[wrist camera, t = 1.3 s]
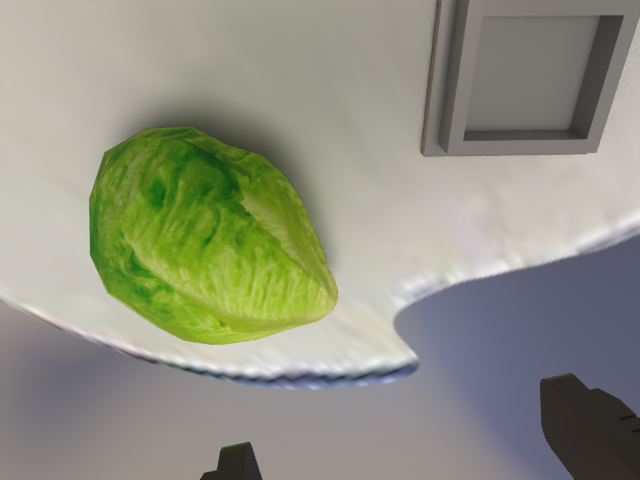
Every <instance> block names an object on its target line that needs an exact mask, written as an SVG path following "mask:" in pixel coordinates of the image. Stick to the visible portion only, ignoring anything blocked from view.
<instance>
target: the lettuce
mask: <svg viewBox="0 0 640 480" xmlns="http://www.w3.org/2000/svg"><path fill="white" fill-rule="evenodd" d="M89 215H90V256H91V258H92V260H93V262H94V265H95V267H96V269H97V271H98V273H99V276H100V278H101V280H102V282H103V285H104V287H105V289H106V291H107V293H108V294H109V295H111V296H112V297H113V298H115V299H116V300H118V301H119V302H121V303H122V304H123V305H125V306H126V307H128V308H129V309H131V310H132V311H134V312H135V313H137V314H138V315H140V316H141V317H143V318H144V319H146V320H147V321H149V322H151V323H152V324H154V325H155V326H157V327H158V328H160V329H162V330H164V331H166V332H168V333H170V334H172V335H174V336H176V337H178V338H180V339H182V340H184V341H190V342H197V343H203V344H210V345H224V344H231V343H238V342H245V341H252V340H257V339H260V338H263V337H267V336H270V335H273V334H276V333H279V332H283V331H286V330H289V329H292V328H296V327H299V326H302V325H306V324H309V323H313V322H316V321H318V320H320V319H322V318H323V317H325V316H326V315H328V314H329V313H330V312H331V311H332V310H333V309H334V307H335V306H336V303H337V300H338V289H337V285H336V282H335V280H334V278H333V275H332V273H331V271H330V269H329V267H328V265H327V262H326V258H325V254H324V251H323V248H322V246H321V243H320V241H319V239H318V236H317V234H316V232H315V230H314V227H313V225H312V223H311V221H310V218H309V216H308V214H307V212H306V209H305V207H304V205H303V202H302V200H301V198H300V196H299V195H298V193H297V192H296V191H295V189H294V188H293V187H292V185H291V184H290V182H289V181H288V180H287V178H286V177H285V176H284V174H283V173H282V172H280V171H279V170H278V169H277V168H276V167H274V166H273V165H272V164H271V163H270V162H269V161H268V160H267V159H266V158H265V157H263V156H261V155H260V154H257V153H253V152H250V151H247V150H243V149H240V148H236V147H233V146H230V145H226V144H224V143H222V142H221V141H219V140H217V139H215V138H213V137H211V136H209V135H207V134H205V133H203V132H201V131H199V130H197V129H196V128H194V127H166V128H147V129H145V130H143V131H141V132H140V133H138V134H136V135H134V136H133V137H131V138H129V139H127V140H126V141H124V142H122V143H120V144H119V145H117V146H115V147H113V148H112V149H110V150H108V151H106V152H105V153H104V156H103V159H102V162H101V165H100V168H99V171H98V174H97V177H96V180H95V183H94V186H93V189H92V192H91V195H90V198H89Z"/></svg>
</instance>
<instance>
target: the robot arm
mask: <svg viewBox="0 0 640 480" xmlns="http://www.w3.org/2000/svg"><path fill="white" fill-rule="evenodd" d="M540 398H541V399H540V400H541V423H542V429H543V433H544V435H545V438H546V440H547V442H548V444H549V446H550V447H551V449H552V450H553V452H554V453H555V454H556V455H557V457H558V458H559V460H560V461H561V462H562V463H563V465H564V466H565V467H566V469H567V470H568V472H569V473H570V474H571V476H572V477H573V478H574V480H640V418H637V416H636V414H635V413H634V412H633V411H632V410H631V409H630V408H628V407H627V406H626V405H625V404H624V403H623V402H622V401H621V400H620V399H618V398H616V397H614V396H612V395H610V394H608V393H606V392H604V391H602V390H600V389H599V388H596V389H592V390H589V389H588V388H587V387H586V386H585V385H584V384H583V383H582V382H581V381H580V380H579V379H578V378H577V377H576V376H575V375H573V374H571V373H567V374H562V375H558V376H553V377H549V378H544V379H542V380H541V382H540ZM200 480H262V477H261V474H260V471H259V467H258V464H257V461H256V458H255V455H254V451H253V448H252V446H251V444H250V442H246V443H241V444H236V445H231V446H227V447H223V448H222V449H221V451H220V456H219V461H218V467H217V470H216V471H211V472H207V473H204V474H203V476H202V477H201V479H200Z"/></svg>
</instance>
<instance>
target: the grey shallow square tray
mask: <svg viewBox="0 0 640 480" xmlns="http://www.w3.org/2000/svg"><path fill="white" fill-rule="evenodd" d="M639 17H640V0H438V7H437V16H436V25H435V34H434V42H433V51H432V60H431V69H430V78H429V87H428V95H427V104H426V113H425V122H424V131H423V140H422V148H421V153H422V155H423V156H424V157H431V156H500V155H569V154H587V153H596V152H597V149H598V146H599V143H600V140H601V136H602V133H603V130H604V127H605V124H606V121H607V118H608V114H609V111H610V108H611V105H612V102H613V99H614V96H615V92H616V89H617V86H618V83H619V80H620V77H621V73H622V70H623V67H624V64H625V61H626V58H627V55H628V51H629V48H630V45H631V42H632V39H633V36H634V33H635V29H636V26H637V23H638V20H639Z"/></svg>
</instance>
